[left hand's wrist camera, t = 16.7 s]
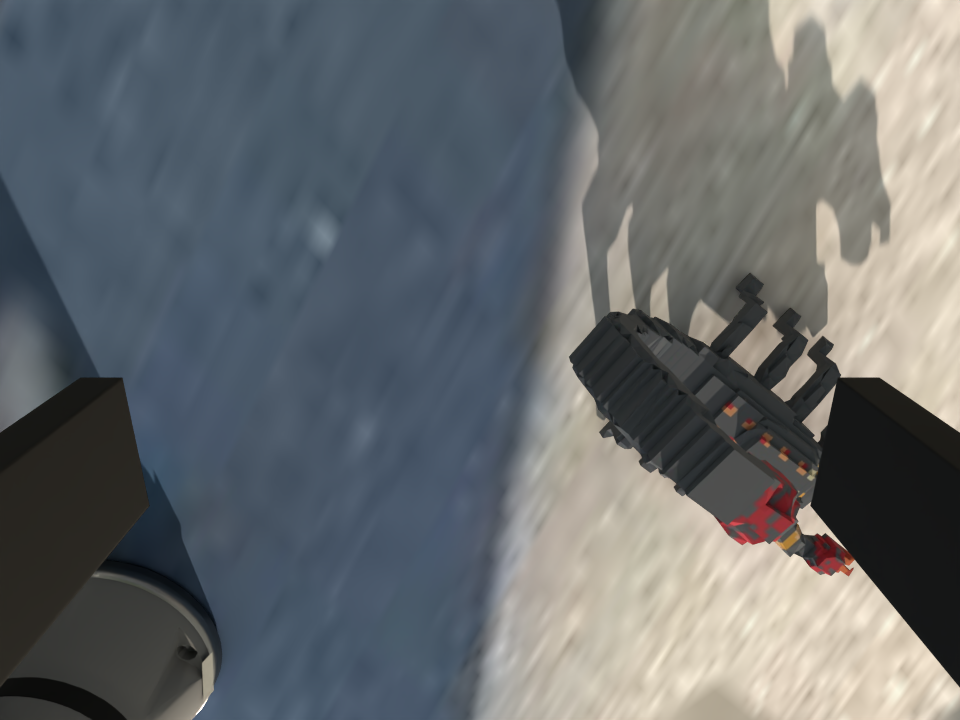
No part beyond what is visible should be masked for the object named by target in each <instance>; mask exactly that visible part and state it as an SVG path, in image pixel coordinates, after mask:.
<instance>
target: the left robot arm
mask: <svg viewBox="0 0 960 720" xmlns="http://www.w3.org/2000/svg"><path fill="white" fill-rule="evenodd" d="M148 507H149V501H148V497H147V492H146V487H145V482H144V478H143V473H142V468H141V464H140V459H139V454H138V449H137V445H136V440H135V435H134V430H133V426H132V421H131V416H130V411H129V407H128V402H127V397H126V393H125V388H124V383H123V378H79V379H78V380H76V381H75V382H74V383H72V384H71V385H69V386H68V387H66V388H65V389H63V390H62V391H60V392H59V393H57V394H56V395H55V396H53V397H52V398H50V399H49V400H47V401H46V402H44V403H43V404H41V405H40V406H39V407H37V408H36V409H34V410H33V411H31V412H30V413H28V414H27V415H25V416H24V417H22V418H21V419H20V420H18V421H17V422H15V423H14V424H12V425H11V426H9V427H8V428H6V429H5V430H4V431H2V432H1V433H0V720H192V719H193V718H194V717H195V715H196V714H197V713H198V712H199V711H200V710H201V709H202V707H203V706H204V704H205V703H206V701H207V699H208V697H209V695H210V694H211V693H212V692H213V691H214V684H215V682H216V680H217V677H218V675H219V672H220V668H221V663H222V649H221V643H220V638H219V635H218V632H217V630H216V628H215V626H214V623H213V622H212V620H211V618H210V617H209V615H208V614H207V612H206V611H205V610H204V608H203V607H202V606H201V605H200V604H199V603H198V602H197V601H196V600H195V599H194V598H193V597H192V596H191V595H190V594H189V593H188V592H186V591H185V590H184V589H183V588H181V587H180V586H178V585H177V584H175V583H174V582H172V581H170V580H169V579H167V578H165V577H163V576H161V575H159V574H157V573H155V572H152V571H150V570H147V569H145V568H142V567H138V566H135V565H131V564H127V563H122V562H115V561H105V559H106V558H107V557H108V556H109V554H110V553H111V552H112V551H113V550H114V548H115V547H116V546H117V545H118V543H119V542H120V541H121V540H122V539H123V537H124V536H125V535H126V534H127V532H128V531H129V530H130V529H131V528H132V526H133V525H134V524H135V523H136V522H137V520H138V519H139V518H140V517H141V515H142V514H143V513H144V512H145V511H146V509H147V508H148ZM811 507H812V508H813V509H814V511H815V512H816V513H817V514H818V515H819V517H820V518H821V519H822V520H823V522H824V523H825V524H826V525H827V526H828V528H829V529H830V530H831V531H832V532H833V534H834V535H835V536H836V537H837V539H838V540H839V541H840V542H841V543H842V545H843V546H844V547H845V548H846V550H847V551H848V552H849V553H850V554H851V556H852V557H853V558H854V559H855V560H856V562H857V563H858V564H859V565H860V567H861V568H862V569H863V570H864V571H865V573H866V574H867V575H868V576H869V577H870V579H871V580H872V581H873V582H874V584H875V585H876V586H877V587H878V588H879V590H880V591H881V592H882V593H883V595H884V596H885V597H886V598H887V599H888V601H889V602H890V603H891V604H892V605H893V607H894V608H895V609H896V610H897V612H898V613H899V614H900V615H901V616H902V618H903V619H904V620H905V621H906V622H907V624H908V625H909V626H910V627H911V629H912V630H913V631H914V632H915V633H916V635H917V636H918V637H919V638H920V640H921V641H922V642H923V643H924V644H925V646H926V647H927V648H928V649H929V650H930V652H931V653H932V654H933V655H934V657H935V658H936V659H937V660H938V661H939V663H940V664H941V665H942V666H943V668H944V669H945V670H946V671H947V672H948V674H949V675H950V676H951V677H952V678H953V680H954V681H955V682H956V683H957V685H958V686H959V687H960V433H959V432H958V431H956V430H955V429H954V428H952V427H951V426H949V425H948V424H946V423H945V422H943V421H942V420H940V419H939V418H938V417H936V416H935V415H933V414H932V413H930V412H929V411H927V410H926V409H924V408H923V407H921V406H920V405H919V404H917V403H916V402H914V401H913V400H911V399H910V398H908V397H907V396H905V395H904V394H903V393H901V392H900V391H898V390H897V389H895V388H894V387H892V386H891V385H889V384H888V383H886V382H885V381H884V380H882V379H881V378H837V383H836V388H835V393H834V397H833V402H832V407H831V411H830V416H829V421H828V426H827V430H826V435H825V440H824V445H823V449H822V454H821V459H820V464H819V468H818V473H817V478H816V482H815V487H814V492H813V497H812V501H811Z"/></svg>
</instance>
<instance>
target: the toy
mask: <svg viewBox="0 0 960 720" xmlns="http://www.w3.org/2000/svg"><path fill="white" fill-rule="evenodd" d="M763 285H764V284H763V283H762V282H760V281H759V280H758V279H757V278H755V277H754V276H753V275H752V274H751V273H749V274H748V275H747V277H746V278H745V279H744V280H743V281H742V282H741V283H740V284H739V285H738V286H737V287H736V289H738V290H739V291H740V292H741V294H740V296H739V298H741V299H742V300H744V301H745V302H746V304H745V305H744V307H743V308H742V309H741V310H740V311H739V313H738V314H737V315H736V316H735V317H734V319H733V321H732V322H731V323H730V324H729V325H728V326H727V327H726V328H725V329H724V330H723V331H722V333H721V334H720V335H719V336H718V337H717V338H716V339H715V340H714V341H713V342H712V344H711V346H710V347H709V346H707V345H706V344H705V343H703V342H701V341H699V340H696V339H694V338H691V337H689V336H687V335H685V334H683V333H682V332H680V331H679V330H678V329H676V328H675V327H674V326H672V325H671V324H669V323H667V322H665V321H663V320H661V319H659V318H657V317H654V318H650V317H649V316H647V315H646V314H645V313H644V312H642V311H641V310H636V309H632V310H631V311H630V313H629V314H628V315H627V314H624V313H621V312H610V313H609V314H608V315H607V316H605V317H604V318H603V319H602V320H601V321H600V322H599V324H598V325H597V326H596V327H595V328H594V329H593V330H592V331H591V333H590V334H589V335H588V336H587V337H586V338H585V339H584V340H583V342H582V343H581V344H580V345H579V346H578V347H577V348H576V349H575V351H574V352H573V353H572V354H571V355H570V356H569V358H570V361H571V362H572V363H573V367H572V368H573V370H574V371H575V373H576V375H577V377H578V378H579V380H580V381H581V382H582V384H583V385H584V386H585V387H586V389H587V390H588V391H589V393H590V394H591V395H592V396H593V398H594V399H595V402H596V404H597V407H598V409H599V411H600V412H601V413H602V414H603V415H604V416H605V417H607V418H608V419H609V420H610V421H609V422H608V423H607V424H606V426H605V427H604V428H603V429H602V430H601V431H600V432H599V433H600V434H601V436H602V437H603V438H606V437H611V436H614V438H615V441H616V443H617V445H619V446H621V447H622V448H624V449H631V448H632V447H634V448H635V449H636V450H637V451H638V452H639V453H640V454H641V456H642V458H641V459H640V460H639V463H640V465H641V466H642V467H643V468H645V469H646V470H647V471H649V472H650V473H651V472H653V471H654V470H656V469H657V468H658V469H659V473H660V474H661V475H662V476H663V477H664V478H666V477H668V478H670V479H672V480H673V481H674V482H675V483H676V485H675V486H674V488H675V490H676V492H677V493H679V494H680V495H681V496H684V495H685V494H686V495H687V496H688V497H689V498H691V499H692V500H693V501H695V502H696V503H697V504H699V505H700V506H702V507H703V508H704V509H706V510H707V511H708V512H710V513H711V514H712V515H714V517H715V518H716V519H717V521H718V522H719V523H720V525H721V526H722V527H723V529H724V530H725V531H726V533H727V534H728V535H729V536H730V537H731V538H733V539H734V540H736V541H737V542H738V543H740V544H741V545H743V544H745V543H746V542H749V543H751V544H752V545H753V544H757V543H761V542H764V541H766V542H767V543H768V544H770V543H771V542H772V541H774V542H776V544H777V545H778V546H779V547H780V548H781V549H782V550H783V551H784V552H785V553H786V554H787V555H788V556H790V557H791V556H792V555H793V554H796V555H798V556H801V557H803V558H804V560H805V561H806V562H807V564H808V565H809V566H810V567H811V568H812V569H813V570H815V571H816V572H817V573H819V574H820V575H822V574H825V573H826V574H828V575H830V576H832V575H833V574H834V573H835V572H838V573H839V571H842V572H843V573H845V574H846V575H847V576H849V575H850V574H851V572H852V570H853V568H852V569H851V570H849V569H848V568H847V567H846V566H845V565H850V564H851V563H852V562H853V561H854V560H855V559H854V558H853V557H852V556H851V554H850V553H849V552H848V551H847V550H845V549H844V548H843V547H842V546H840V545H839V544H838V543H836V542H835V541H834V540H833V539H832V538H830V537H829V536H828V535H827V534H826V533H825V534H824V535H823V536H820V535H819V534H818V533H817V534H816V535H815V536H812V535H804V534H802V532H801V530H800V527H799V525H798V524H797V522H798V520H797V519H796V515H797V513H798V510H799V508H801V509H803V508H804V507H805V506H806V505H807V504H809V503H810V502H811V501H812V497H813V492H814V487H815V482H816V478H817V473H818V468H819V464H820V459H821V454H822V449H823V445H824V440H825V435H826V430H827V426H828V425H827V426H826V427H825V428H824V430H823V431H822V432H821V438H820V441H819V442H818V443H817V442H816V441H815V440H814V439H813V437H814V436H815V435H814V434H813V433H812V432H811V431H810V430H809V429H808V428H807V427H806V426H805V425H804V424H803V423H802V421H803V420H804V419H805V418H806V417H807V416H808V415H809V414H810V413H811V412H812V411H813V410H814V409H815V408H816V407H817V406H818V404H819V403H820V402H821V401H822V400H823V399H824V397H825V396H826V395H827V394H828V393H829V391H830V390H831V389H832V388H833V387H834V386H835V384H836V383H837V378H840V376H841V374H840V373H839V370H838V368H837V365H836V363H834V362H833V361H831V360H830V359H829V358H827V357H826V355H827V354H828V353H829V352H830V351H831V350H832V348H833V346H834V344H833V343H831V342H830V341H828V340H827V339H826V338H825V337H824V336H822V337H821V338H820V339H819V340H818V342H817V343H816V344H815V345H814V346H813V347H812V348H811V349H810V350H809V352H808V354H807V355H808V356H809V357H810V358H811V359H812V360H813V361H814V362H815V363H816V364H817V369H816V372H815V373H814V374H813V375H812V376H811V377H810V379H809V380H808V381H807V382H806V383H805V384H804V385H803V386H802V387H801V388H800V389H799V390H798V391H797V392H796V393H795V394H794V395H793V396H792V398H791V399H790V400H788V401H786V402H784V401H783V400H782V399H781V398H780V397H778V396H777V395H776V394H775V393H773V392H772V391H771V389H772V388H773V387H774V386H775V385H776V384H777V383H779V382H780V381H781V380H782V379H783V378H784V377H785V376H786V374H787V372H788V370H789V368H790V366H791V365H792V364H793V363H794V362H795V361H796V360H797V359H798V358H799V357H800V356H801V355H802V353H803V351H804V349H805V347H806V344H807V342H808V339H806V338H805V337H804V336H803V335H802V334H800V333H799V332H798V331H796V330H795V329H793V327H794V326H795V325H796V323H797V322H798V321H799V319H800V318H801V316H800V315H799V314H797V313H796V312H795V311H794V310H792V309H791V308H790V309H789V310H788V311H787V312H786V313H785V314H784V315H783V316H782V317H781V318H780V319H779V320H778V321H777V322H776V323H775V324H774V325H773V327H775V328H776V329H777V330H778V331H779V332H781V333H782V334H783V335H784V336H783V337H782V338H781V339H782V340H783V341H782V342H781V343H780V344H779V345H778V346H777V347H776V348H775V349H774V350H773V351H772V353H771V354H770V355H769V356H768V357H767V358H766V359H765V361H764V362H763V363H762V364H761V365H760V366H759V368H758V370H757V372H756V374H755V376H753V375H751V374H750V373H749V372H748V371H746V370H745V369H744V368H743V367H741V366H740V365H739V364H738V363H736V362H735V361H734V360H733V359H732V358H730V357H729V355H730V354H731V353H732V352H733V351H734V350H735V349H736V347H737V346H738V345H739V344H740V343H741V342H742V341H743V340H744V339H745V338H746V336H747V335H748V334H749V333H750V332H751V331H752V330H753V329H754V328H755V326H756V325H757V324H758V323H759V322H760V321H761V319H762V318H763V317H764V316H765V315H766V314H767V311H766V310H764V309H763V308H762V307H761V306H760V305H762V304H763V303H764V302H763V301H762V300H760V299H759V298H758V297H756V295H757V294H758V292H759V291H760V290H761V288H762V287H763ZM844 564H845V565H844Z"/></svg>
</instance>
